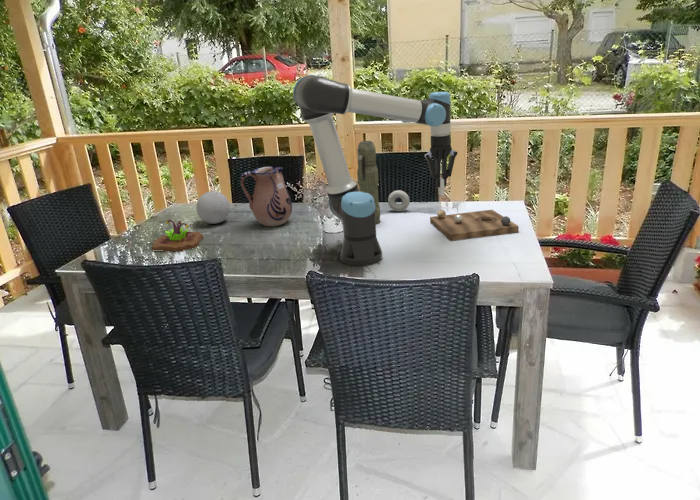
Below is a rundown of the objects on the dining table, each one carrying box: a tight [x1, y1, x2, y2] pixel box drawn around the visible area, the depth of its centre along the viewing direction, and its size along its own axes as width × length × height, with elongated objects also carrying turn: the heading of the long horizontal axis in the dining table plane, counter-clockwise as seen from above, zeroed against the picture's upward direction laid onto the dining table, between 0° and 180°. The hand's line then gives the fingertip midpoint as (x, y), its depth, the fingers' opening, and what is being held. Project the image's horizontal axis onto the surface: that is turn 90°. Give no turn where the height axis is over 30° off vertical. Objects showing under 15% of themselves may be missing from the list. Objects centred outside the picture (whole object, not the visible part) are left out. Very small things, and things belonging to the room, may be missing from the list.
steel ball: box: [454, 215, 463, 223], centre depth 210 cm, size 4×4×4 cm
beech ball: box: [436, 209, 447, 218], centre depth 218 cm, size 4×4×4 cm
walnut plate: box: [429, 209, 520, 242], centre depth 212 cm, size 28×24×2 cm
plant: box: [152, 219, 204, 253], centre depth 216 cm, size 20×20×11 cm
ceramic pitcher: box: [239, 166, 293, 227], centre depth 230 cm, size 18×21×25 cm
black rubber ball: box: [501, 216, 511, 225], centre depth 204 cm, size 4×4×4 cm
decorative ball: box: [196, 190, 231, 225], centre depth 239 cm, size 15×15×15 cm
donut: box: [387, 189, 410, 212], centre depth 238 cm, size 10×3×10 cm, turn 77°
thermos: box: [356, 140, 381, 225], centre depth 221 cm, size 9×12×35 cm
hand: (441, 194), depth 206 cm, fingers closed
